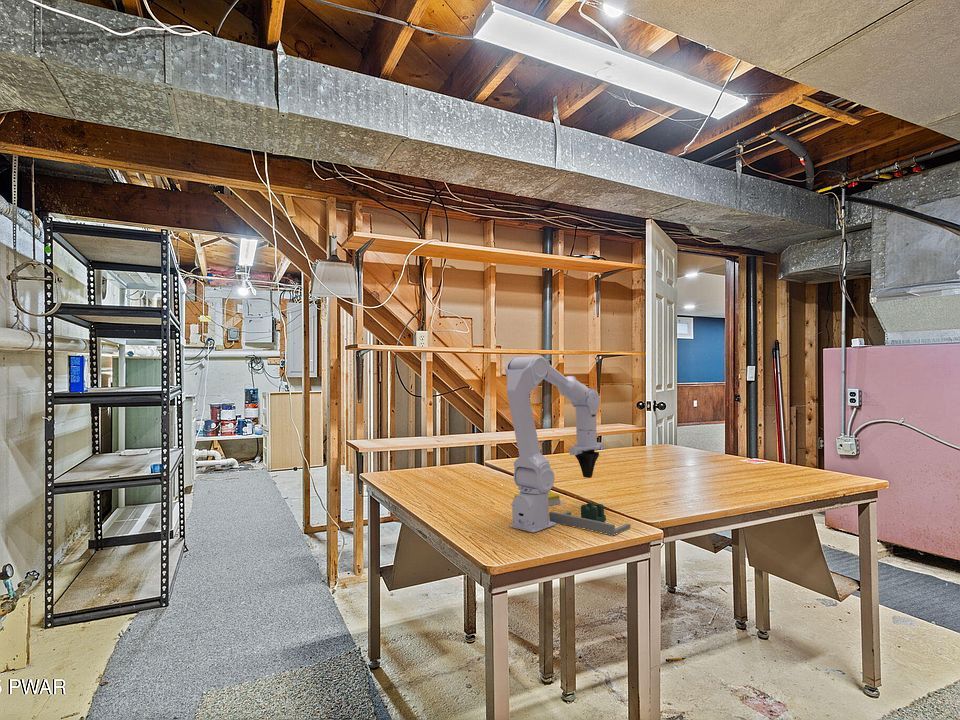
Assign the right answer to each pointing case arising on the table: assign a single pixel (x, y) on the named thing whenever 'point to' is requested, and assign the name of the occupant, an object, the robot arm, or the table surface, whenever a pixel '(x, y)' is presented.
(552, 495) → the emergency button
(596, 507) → the mount
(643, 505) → the table surface
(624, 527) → the u-shaped gray bracket
